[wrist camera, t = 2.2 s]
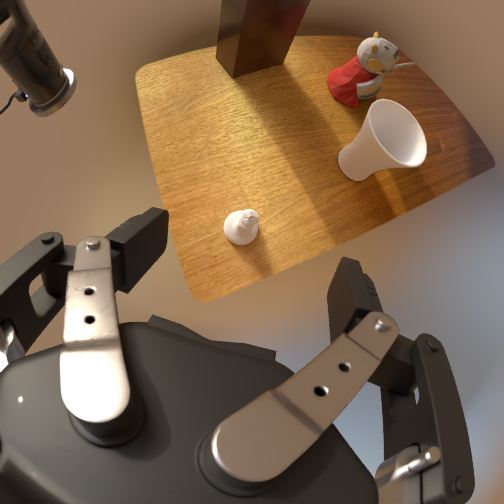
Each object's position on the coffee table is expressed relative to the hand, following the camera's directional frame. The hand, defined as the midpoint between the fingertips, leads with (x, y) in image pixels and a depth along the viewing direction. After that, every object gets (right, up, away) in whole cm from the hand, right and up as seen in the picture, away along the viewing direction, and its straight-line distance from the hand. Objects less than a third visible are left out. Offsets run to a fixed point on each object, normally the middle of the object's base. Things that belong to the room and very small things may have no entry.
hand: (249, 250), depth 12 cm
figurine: (+20, +33, +32) cm, 51 cm away
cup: (+18, +15, +31) cm, 39 cm away
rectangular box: (0, +36, +29) cm, 46 cm away
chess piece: (-2, +3, +27) cm, 27 cm away
